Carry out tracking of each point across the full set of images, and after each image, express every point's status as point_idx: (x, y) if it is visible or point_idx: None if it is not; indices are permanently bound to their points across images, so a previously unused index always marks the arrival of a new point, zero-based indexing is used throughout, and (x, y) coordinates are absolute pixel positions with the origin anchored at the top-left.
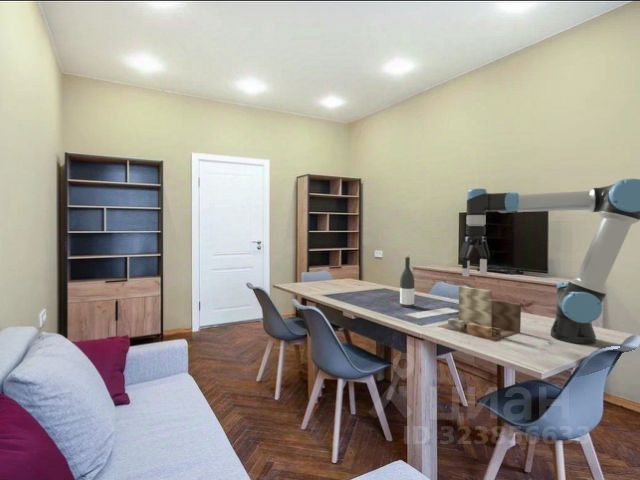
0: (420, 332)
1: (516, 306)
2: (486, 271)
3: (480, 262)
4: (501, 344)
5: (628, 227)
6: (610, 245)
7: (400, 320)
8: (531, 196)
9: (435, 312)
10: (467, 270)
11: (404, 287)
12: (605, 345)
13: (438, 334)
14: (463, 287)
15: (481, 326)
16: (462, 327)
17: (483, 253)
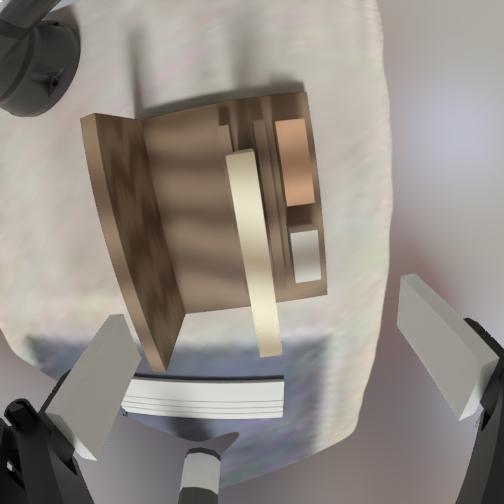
0: (385, 288)
1: (101, 125)
2: (101, 328)
3: (107, 428)
4: (273, 90)
5: None
6: None
7: (332, 387)
8: None
9: (186, 399)
10: (439, 307)
11: (214, 494)
12: None
13: (360, 252)
14: (278, 330)
15: (299, 150)
16: (299, 225)
17: (68, 495)
